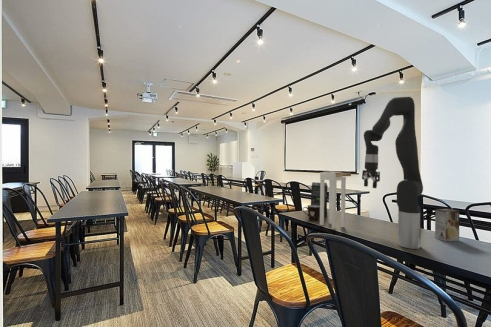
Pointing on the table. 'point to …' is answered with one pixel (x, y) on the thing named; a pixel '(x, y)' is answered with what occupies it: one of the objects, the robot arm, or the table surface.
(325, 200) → the headset box
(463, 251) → the table surface
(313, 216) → the coffee mug
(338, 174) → the oak paddle
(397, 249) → the table surface
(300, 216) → the table surface
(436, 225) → the coffee box
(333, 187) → the white stand
